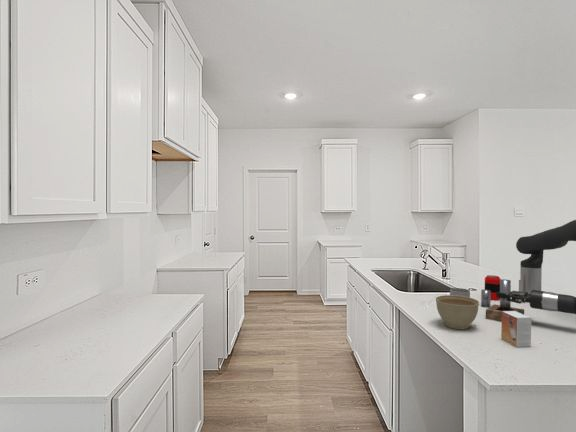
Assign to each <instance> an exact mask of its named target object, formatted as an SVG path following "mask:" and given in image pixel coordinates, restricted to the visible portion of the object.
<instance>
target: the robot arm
mask: <svg viewBox="0 0 576 432" xmlns="http://www.w3.org/2000/svg"><path fill="white" fill-rule="evenodd" d="M568 242H576V219H574V220H571V221H569V222H567V223H565V224H563V225H561V226H557V227H554V228H549V229H546V230H544V231H542V232H537V233H535V234H532V235H528V236H521V237H519V238H518V239H517V240H516V242H515V243H516V244H515V247H516V250H517V251H518V253H520V254H523V255H530V256H529V257H528V258H524V259H523V260H521V261H520V265H519V267H520V272H519V275H520V278H519V280H518V291H517V290H512V291H511V294H508V293H507V294H506V293H500V291H499V292H497V293H496V297H497V298H503V299H506V300H507V301H511V303H517V304H526V303H529V306H530V308H532V309H537V310H542V311H547V312H548V311H549V312H559V313H566V314H573V315H576V296H575V295H574V296H573V295H568V294H563V293H556V292H552V291H543V290H542V270H543V269H542V266H543V262H544V251H549V250H550V251H551V250H556V249H560V248H563V247H565V246H566V245H568ZM510 297H511V298H510Z"/></svg>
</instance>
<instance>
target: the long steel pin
mask: <svg viewBox="0 0 576 432" xmlns="http://www.w3.org/2000/svg"><path fill="white" fill-rule="evenodd" d="M500 279H501V278H500ZM511 283H512V280H511V279H504V278H502V279H501V280H500V293H506V294H507V293H508V294H511V288H512V286H511V285H512V284H511ZM510 298H511V297H510ZM511 299H512V298H511ZM511 303H512V302H511V301H507V300H506V299H503V298H500V300H499V305H500V311H511V307H512V306H511Z"/></svg>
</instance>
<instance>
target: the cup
mask: <svg viewBox="0 0 576 432" xmlns="http://www.w3.org/2000/svg"><path fill="white" fill-rule="evenodd" d="M449 295H457V296H465V297H470V298H471V290H470V289H466V288H460V287H452V288H450V289H449Z"/></svg>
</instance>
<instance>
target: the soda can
mask: <svg viewBox="0 0 576 432" xmlns="http://www.w3.org/2000/svg"><path fill="white" fill-rule="evenodd" d="M500 280H501V277H500V276H498V275H494V274H493V275H492V274H490V275H486V276H485V277H484V289H486V290H490V291H491V301H500V298H497V297H496V293H497V292H499V291H500Z"/></svg>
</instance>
